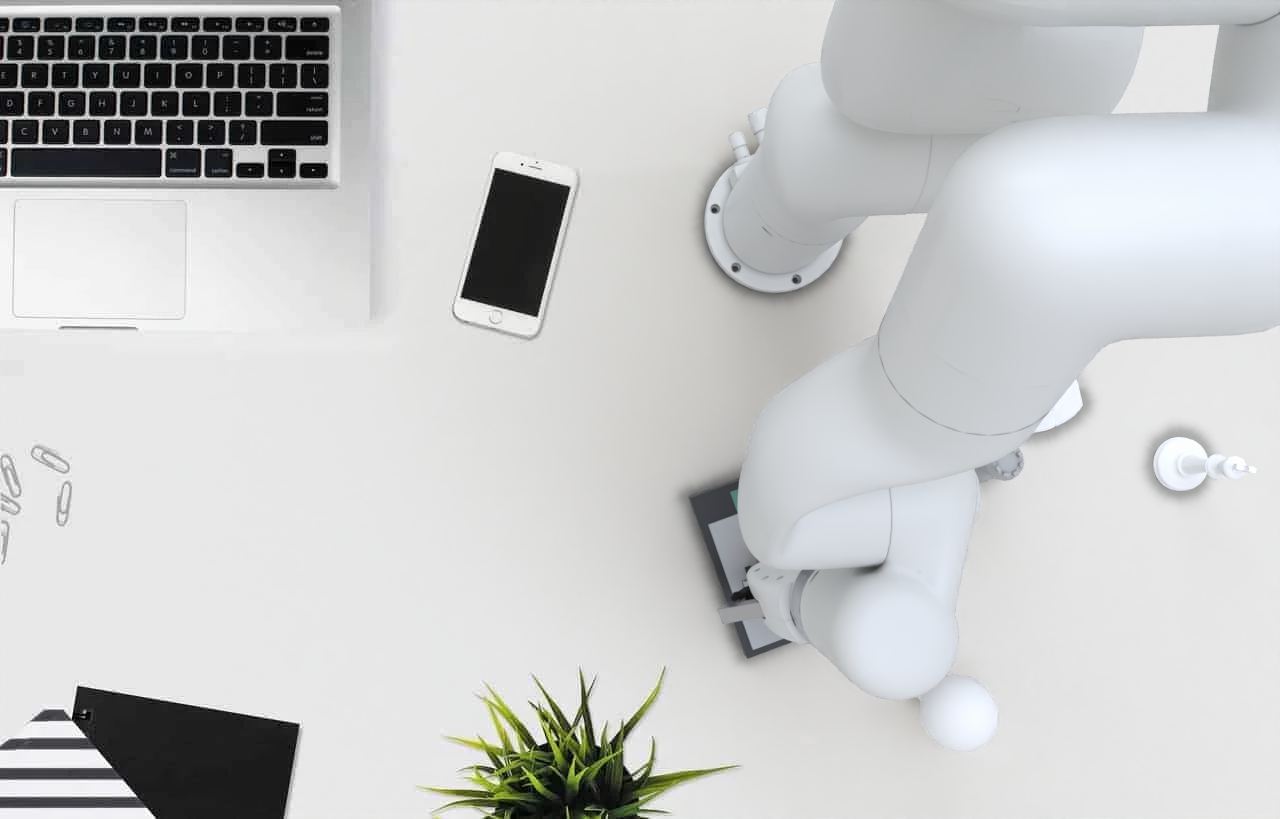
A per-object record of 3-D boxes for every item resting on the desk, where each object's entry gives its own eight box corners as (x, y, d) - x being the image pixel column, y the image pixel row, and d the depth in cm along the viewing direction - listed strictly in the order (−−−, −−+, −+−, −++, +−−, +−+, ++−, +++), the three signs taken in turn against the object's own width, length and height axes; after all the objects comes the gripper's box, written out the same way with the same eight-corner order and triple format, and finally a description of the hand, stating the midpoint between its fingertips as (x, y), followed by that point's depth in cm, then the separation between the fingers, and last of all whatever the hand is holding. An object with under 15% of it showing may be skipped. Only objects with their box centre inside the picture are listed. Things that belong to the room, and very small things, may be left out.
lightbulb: (890, 657, 90) (932, 689, 79) (956, 650, 90) (1007, 681, 79) (896, 724, 90) (938, 766, 79) (962, 718, 90) (1014, 758, 79)
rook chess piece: (1004, 446, 91) (1044, 448, 83) (984, 491, 91) (1022, 497, 83) (960, 425, 90) (996, 425, 82) (940, 470, 90) (974, 474, 82)
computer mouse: (1022, 440, 91) (1033, 441, 88) (970, 319, 91) (980, 316, 88) (1088, 411, 91) (1101, 411, 89) (1037, 290, 91) (1049, 287, 89)
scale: (688, 496, 89) (690, 498, 87) (823, 447, 90) (829, 448, 88) (744, 654, 89) (748, 660, 87) (879, 604, 90) (886, 609, 88)
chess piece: (1199, 495, 92) (1274, 504, 82) (1148, 484, 91) (1217, 492, 81) (1209, 442, 92) (1285, 445, 82) (1158, 432, 91) (1228, 433, 81)
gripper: (945, 509, 70) (872, 493, 87) (711, 595, 69) (686, 561, 86) (981, 611, 70) (901, 574, 87) (748, 698, 69) (715, 643, 86)
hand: (794, 568), depth 87 cm, fingers open, 7 cm apart
